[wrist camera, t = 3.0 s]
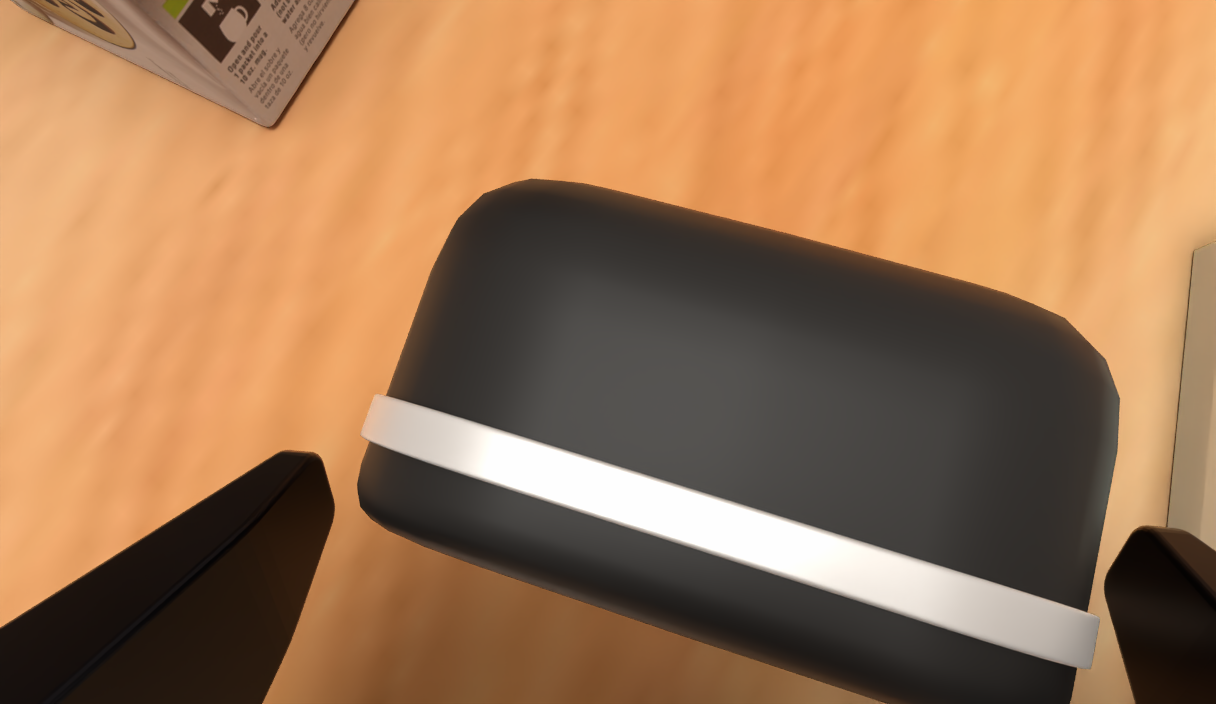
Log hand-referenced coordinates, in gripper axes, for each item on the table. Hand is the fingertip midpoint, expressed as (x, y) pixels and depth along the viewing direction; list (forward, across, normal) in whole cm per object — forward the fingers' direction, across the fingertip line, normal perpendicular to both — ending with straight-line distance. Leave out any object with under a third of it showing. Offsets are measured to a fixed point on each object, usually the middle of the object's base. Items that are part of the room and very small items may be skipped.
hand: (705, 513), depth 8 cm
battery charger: (+7, 0, +6) cm, 9 cm away
